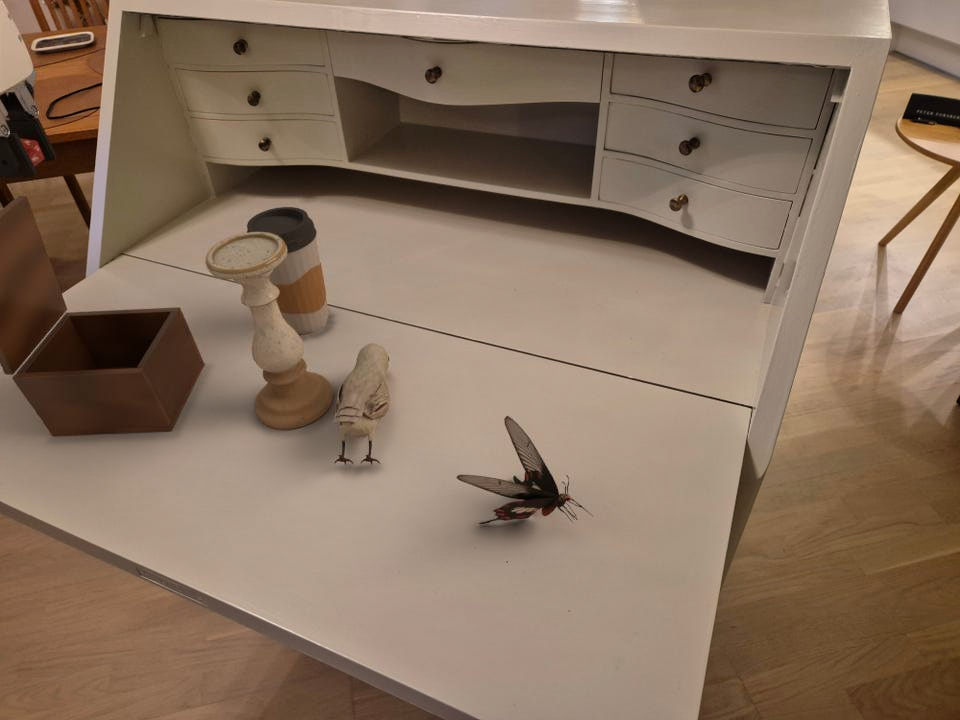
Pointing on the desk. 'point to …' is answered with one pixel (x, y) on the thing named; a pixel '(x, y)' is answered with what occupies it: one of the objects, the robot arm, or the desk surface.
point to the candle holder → (271, 331)
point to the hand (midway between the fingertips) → (30, 166)
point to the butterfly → (524, 482)
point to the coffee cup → (296, 268)
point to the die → (33, 151)
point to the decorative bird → (363, 397)
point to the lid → (24, 286)
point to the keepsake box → (112, 372)
